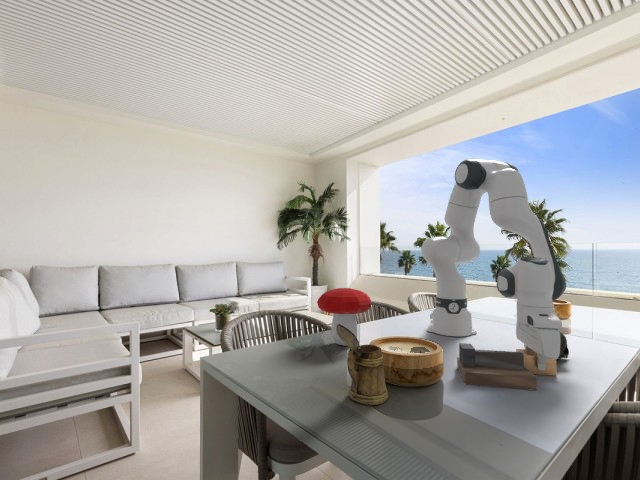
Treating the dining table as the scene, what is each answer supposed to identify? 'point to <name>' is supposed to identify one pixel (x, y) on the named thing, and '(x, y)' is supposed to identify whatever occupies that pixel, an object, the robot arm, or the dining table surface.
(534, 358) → the slotted cardboard block
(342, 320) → the mushroom
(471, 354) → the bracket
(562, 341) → the seashell
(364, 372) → the wooden mug
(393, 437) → the dining table surface
